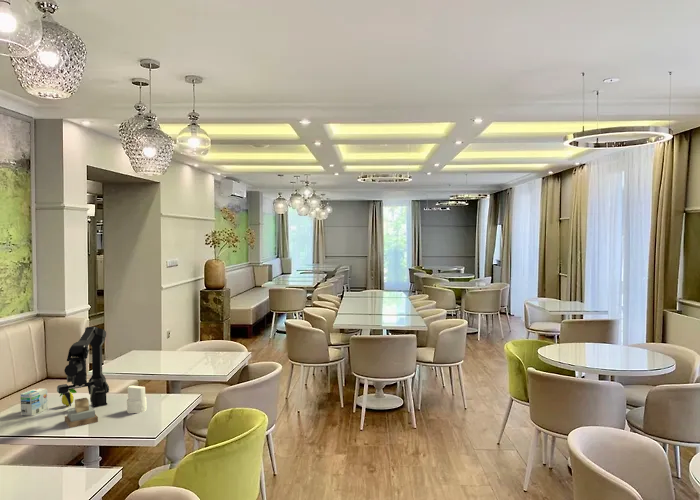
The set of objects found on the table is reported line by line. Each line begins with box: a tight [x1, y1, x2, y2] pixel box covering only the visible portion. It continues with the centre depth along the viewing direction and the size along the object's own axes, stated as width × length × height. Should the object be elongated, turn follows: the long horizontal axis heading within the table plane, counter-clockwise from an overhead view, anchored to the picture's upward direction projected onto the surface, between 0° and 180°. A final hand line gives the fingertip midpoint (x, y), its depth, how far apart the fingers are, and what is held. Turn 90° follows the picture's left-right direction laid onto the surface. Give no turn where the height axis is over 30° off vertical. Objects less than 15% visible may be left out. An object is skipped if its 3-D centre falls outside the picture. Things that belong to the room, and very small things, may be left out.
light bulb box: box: [19, 387, 49, 417], centre depth 261 cm, size 11×7×11 cm, turn 168°
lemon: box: [59, 388, 77, 407], centre depth 270 cm, size 7×6×10 cm
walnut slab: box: [64, 414, 99, 429], centre depth 246 cm, size 12×12×3 cm
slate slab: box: [66, 405, 96, 422], centre depth 246 cm, size 10×10×3 cm
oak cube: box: [74, 397, 90, 413], centre depth 246 cm, size 5×5×5 cm
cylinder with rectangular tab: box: [126, 385, 148, 414], centre depth 260 cm, size 9×9×12 cm
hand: (80, 403), depth 246 cm, fingers open, 9 cm apart
